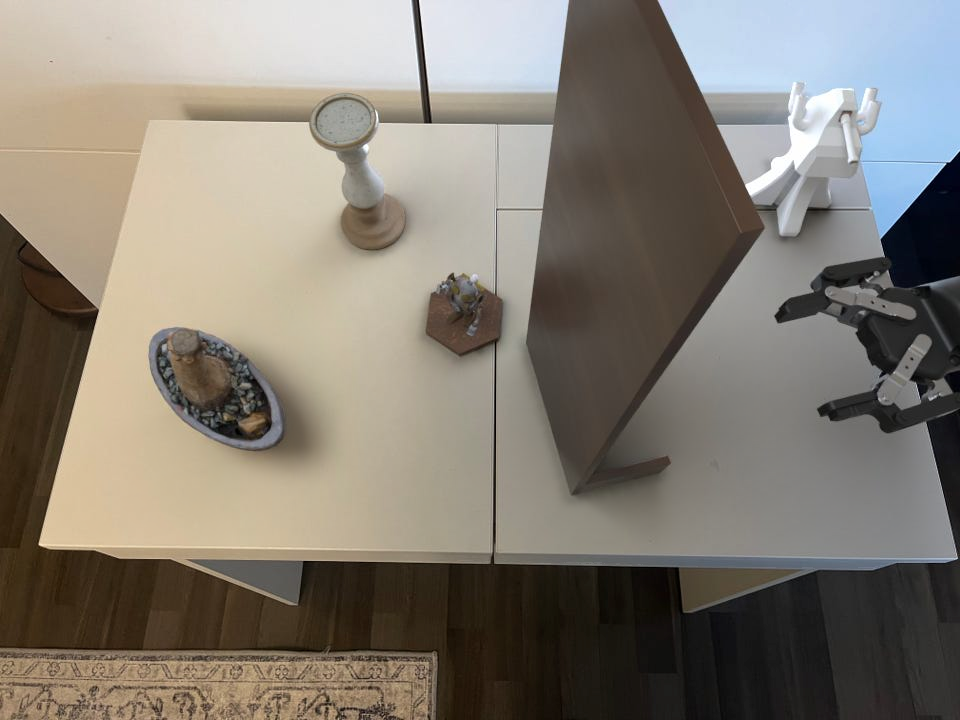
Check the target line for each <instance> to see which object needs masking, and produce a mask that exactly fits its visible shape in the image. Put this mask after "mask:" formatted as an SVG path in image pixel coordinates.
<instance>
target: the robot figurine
mask: <svg viewBox="0 0 960 720" xmlns="http://www.w3.org/2000/svg"><path fill="white" fill-rule="evenodd" d="M478 282H479V276H478V275H477V274H471V275H470V276H468V275H467V274H466V273H464V272H462V274H460V275H459V276H455V272H451V273H450V274H448V276H447V277H446V279H445V280H442V281H441V282H440V283H439V284H437V287H436V289H435V291H433V292H430V296H429V304H428V310H427V318H426V322H425V323H426V324H425V334H426V335H427V336H428V337H430V338H431V339H432V340H434V341H436V342H437V343H439V344H440V345H442V346H443V347H444V348H446V349H447V350H449V351H451V352H452V353H453V354H455V355H457V356H458V357H462V356H465V355H467V354H470V353H472V352H474V351H476V350H479V349H481V348H484V347H486V346H488V345H491V344H493V343H496V342H498V341H499V338H500V329H501V318H502V307H503V299H502V298H501V297H499V296H498V295H497V294H495V293H493V292H491V291H490V290H488V289H487V288H486V287H484V286H482V285H481V284H479V283H478ZM443 286H445V287H443Z"/></svg>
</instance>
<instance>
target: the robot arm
mask: <svg viewBox="0 0 960 720" xmlns="http://www.w3.org/2000/svg"><path fill="white" fill-rule="evenodd" d="M892 267H893V263H892V261H891V259H890V258H888V257H886V256H878V257H873V258H867V259H862V260H856V261H849V262H844V263H839V264H832V265H828V266H827V265H826V266H825V267H823V269H822V270H820V272H819V273H818V274H817V275H816V276H815V277H814V278H813V279H812V281H810V284H809V286H810V289H811V290H812V291H813V292H808V293H804V294H800V295H795V296H792V297H789V298H788V299H786V300H785V301H784V302H783V303H782V304H781V305H780V306H779V308H778V310H777V312H776V313H775V314H774V315H773V317H774V319H775V321H776V323H777V324H783V323H787V322H788V323H789V322H791V321H796V320H801V319H805V318H808V317H813V316H817V314H819V313H821V314H824V315H827V316H830V317H832V318H835V319H836V321H837V322H838V323H840V324H843V325H845V326H848V327H851V328H853V329H857V331H855V332H854V334H855V335H856V337H857V340H858V341H859V343H860V344H861V346H863V347H864V349H865V352H866V355H867V359H868V361H869V363H870V365H871V367H874V366H875V367H876V368H877V369H878V370H880V371H879V372H878V374H877V376H876V377H875V379H874V381H873V382H872V383H871V385H870V390H869V391H865V392H861V393H857V394H853V395H849V396H845V397H841V398H837V399H834V400H829V401H827V402H825V403H823V404H822V405H820V406H819V407H817V408H816V412H817V414H818V415H819V417H820V418H824V417H828V419H829V421H830V422H837V423H838V422H842V421H846V420H849V419H850V420H851V419H853V418H858V417H862V416H866V415H867V416H872V417H873V418H874V419H876V421H877V422H878V427H879V429H880V431H881V432H883V433H885V434H887V435H890V434H893V433H897V432H899V431H901V430H905V429H908V428H911V427H914V426H918V425H921V424H923V423H926V422H929V421H932V420H935V419H938V418H942V417H944V416H947V415H949V414H952V413H953V412H955V411H958V410H959V409H960V392H959V391H957V392H953V390H952V389H951V387H950V385H949V383H948V381H946V379H945V376H947V374H950V373H954V372H957V371H960V275H958V276H955V277H950V278H945V279H941V280H937V281H934V282H929V283H924V284H920V285H917V286H913V287H908V288H906V287H905V288H904V287H899V286H894V284H893V281H892V280H891V277H890V275H889V273H888V270H890V269H891V268H892ZM857 286H858V287H859V289H861V290H865V289H866V290H872V291H875V292H876V293H877V295H876V296H875V295H872V294H868V293H866V292H861V291H860V292H851V291H849V290H845V288H852V287H857ZM863 311H864V313H860V312H863ZM909 381H910V382H913V383H916V384H919V385H921V386H922V385H923V386H927V391H926V393H924V394H922V396H921V398H920V399H921V400H920V403H918V404H916V405H912V406H910V407H906V408H903V409H901V408H900V407H899V406H898V405H897V404H896V403H895V400H896V399H897V397H898V396H899V394H900V392H901V391H902V389H903V387H904V386H905V385H907V384H908V382H909Z"/></svg>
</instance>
